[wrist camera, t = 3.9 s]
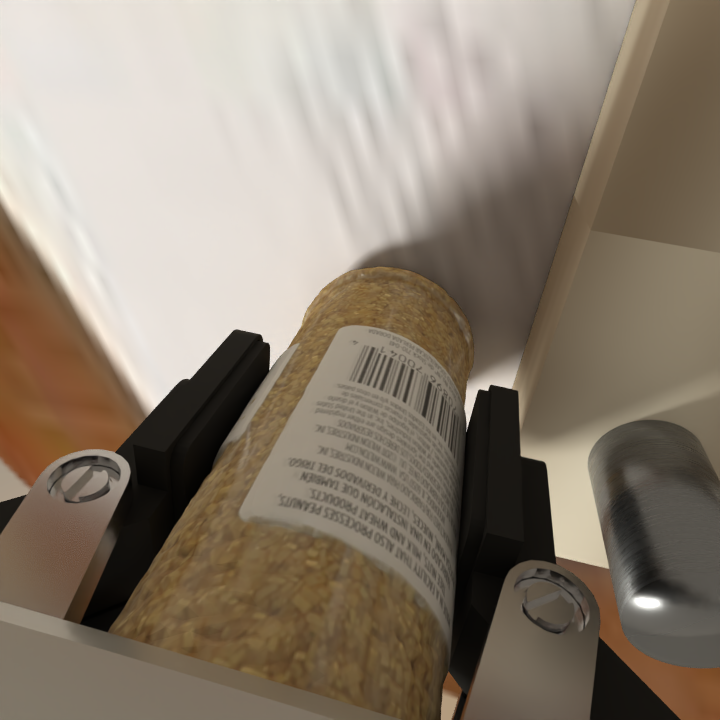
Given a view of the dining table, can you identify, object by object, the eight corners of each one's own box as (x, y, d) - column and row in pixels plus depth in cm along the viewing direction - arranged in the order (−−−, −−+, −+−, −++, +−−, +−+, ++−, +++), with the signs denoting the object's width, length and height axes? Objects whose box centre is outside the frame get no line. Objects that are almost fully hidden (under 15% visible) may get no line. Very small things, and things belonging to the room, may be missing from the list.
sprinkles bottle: (273, 312, 15) (-396, 1170, 4) (417, 226, 13) (-88, 1490, 2) (368, 436, 17) (88, 1322, 5) (511, 375, 15) (556, 1593, 3)
